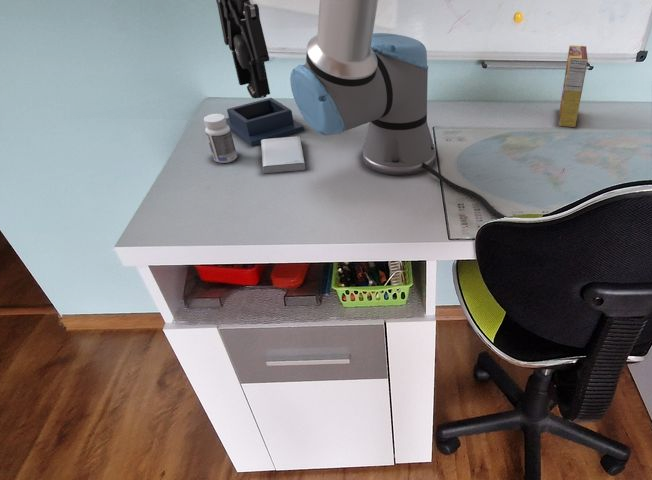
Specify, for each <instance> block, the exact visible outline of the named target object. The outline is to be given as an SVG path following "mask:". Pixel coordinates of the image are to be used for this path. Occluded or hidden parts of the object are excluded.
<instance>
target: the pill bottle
mask: <svg viewBox="0 0 652 480" xmlns="http://www.w3.org/2000/svg"><path fill="white" fill-rule="evenodd" d="M203 122H204V125H205V130H204V131H205V135H206V138H207V141H208V145H209V148H210V152H211V155H212V158H213V160H214V161H215V162H216V163H220V164H226V163H231V162H234V161H235V160H236V159H237V158H238V152H237V149H236V146H235V142H234V139H233V135H232V131H231V130H230V127H229V126H228V125H227V123H226V116H225V115H224V114H221V113H211V114H208V115H205V116H204V117H203Z"/></svg>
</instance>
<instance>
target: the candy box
mask: <svg viewBox="0 0 652 480" xmlns="http://www.w3.org/2000/svg"><path fill="white" fill-rule="evenodd" d="M588 61H589V58H588V51H587V46H585V45H575V44H574V45H573V44H571V45H569V47H568V54H567V60H566V66H565V72H564V79H563V85H562V92H561V99H560V104H559V105H560V106H559V119H558V120H559V121H558V126H559V127H568V128H576V125H577V119H578V114H579V109H580V104H581V99H582V93H583V88H584V82H585V77H586V71H587V68H588Z"/></svg>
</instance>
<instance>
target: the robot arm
mask: <svg viewBox="0 0 652 480" xmlns="http://www.w3.org/2000/svg"><path fill="white" fill-rule="evenodd" d="M215 1H216V5H217V10H218V15H219V22H220V26H221V31H222V38H223V42H224V45H226V46H228V48H229V50H230V52H231V54H232V59H233V64H234V69H235V71H236V76H237V80H238V85H240V86H245V85H248V84H249V81H250V72H249V69H243V68H242V67H241V65H240V63H239V61H238V60H237V56H236V51H235V46H234V36H235V35H236V34H243V37H244V40H245V43H246V45H247V48H248V51H249V54H250V57H251V60H252V61H250V62H249V64H250V65H251V70H252V74H253V79H254V84H255V88H256V93H257V96H258V97H261V96H265V95H266V96H268V95H271V90H270V85H269V80H268V75H267V70H266V65H265V63H267V62H269V61H270V55H269V51H268V48H267V43H266V38H265V35H264V31H263V26H262V23H261V19H260V17H261V16H260V9H259V4H257V3H254V4H253V3H251V1H250V0H215ZM378 4H379V0H319V7H318V22H317V33H316V34H315V35H313V37H311V38H310V39H309V40H308V42H307V45H306V55H305V56H306V59H305V60H306V61H305V63H304V64H298V65H297V66H296V67H295V68H293V69H292V70H291V72H290V76H289V81H290V89H291V93H292V97H293V100H294V103H295V104H296V106H297V108H298V110H299V112H300V114H301V116H302V118H303V119H304V120H305V122H306V123H307V125H309V127H310V128H311V129H312V130H313V131H315V132H316V133H318V134H319V135H322V136H332V135H336V134H342V133H345V132H347V131H349V130H352V129H355V128H357V127H360V126H362V125H365V124H368V126H367V130H366V136H365V141H364V145H363V147H362V159H363V163H364V164H365V166H367V167H368V168H369V169H371V170H372V171H375V172H377V173H379V174H384V175H388V176H411V175H415V174H419V173H422V172H425V171H427V172H429V173H430V174H431V175H432V176H434V177H436V178H437V179H438V180H439V181H440V182H442V183H443V184H445V185H446V186H448V187H449V188H451V189H454V190H455V191H457V192H460V193H462V194H466V195H468V196H471V197H472V198H474V199H475V200H477V201H479V203H481V204H482V206H484V207H485V209H486V210H487V211H488V212H489V213H490V214H491V215H493V216H494V217H496V218H498V219H499V218H504V217H508V216H507V215H505V214H503V213H501V212H500V211H498V210H496V208H494V207H493V206H492V205H491V203H489V201H488V200H487V199H485V197H483V196H482V195H480V194H479V193H477V192H475V191H474V190H471V189H469V188H467V187H463V186H461V185H460V184H459V185H458V184H456V183H455V182H453V181H451V180H450V179H449V178H446V177H445V176H444V175H443V174H441V173H440V172H439V171H437V170H436V169H434V168H433V167H432V166H433V165H434V164H435V162H436V147H435V144H434V141H433V138H432V134H431V130H430V128H429V124H428V82H429V81H428V78H429V77H428V76H429V75H428V74H429V72H428V71H429V65H428V52H427V48H426V46H425V44H423V42H421V41H420V40H418V39H417V38H416V39H415V38H414V37H411V36H406V35H402V34H396V33H389V32H388V33H387V32H374V29H375V24H376V23H375V22H376V16H377V10H378Z"/></svg>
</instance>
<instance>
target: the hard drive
mask: <svg viewBox="0 0 652 480" xmlns="http://www.w3.org/2000/svg"><path fill="white" fill-rule="evenodd" d="M260 146H261V161H262V170H263V174H264V173H265V174H274V173H283V172H297V171H304V170H306V163H305V158H304V152H303V147H302V141H301V137H300V136H284V137H280V138H272V139H263V140H261V145H260Z"/></svg>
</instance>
